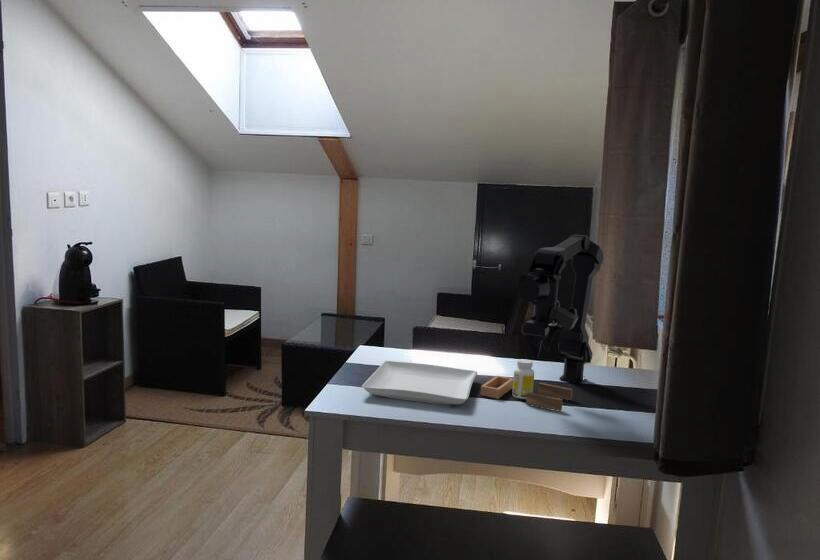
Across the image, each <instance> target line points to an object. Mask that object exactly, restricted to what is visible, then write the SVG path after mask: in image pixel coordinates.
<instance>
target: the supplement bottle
mask: <svg viewBox="0 0 820 560" xmlns="http://www.w3.org/2000/svg"><path fill="white" fill-rule="evenodd" d="M533 364H534V363H533V361H532V360H530V359H527V358H526V359H523V358H521V359H520V358H519V359H517V363H516V366H517V367H515V368H514V370H513V376H512V377H513V378H512V379H513V388H512V389H511V390H512V392H511V393H512V397H514V398H516V399H520V400H526V399H527V393H528V392H530V393H534V381H535V370H534V369H533Z"/></svg>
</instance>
